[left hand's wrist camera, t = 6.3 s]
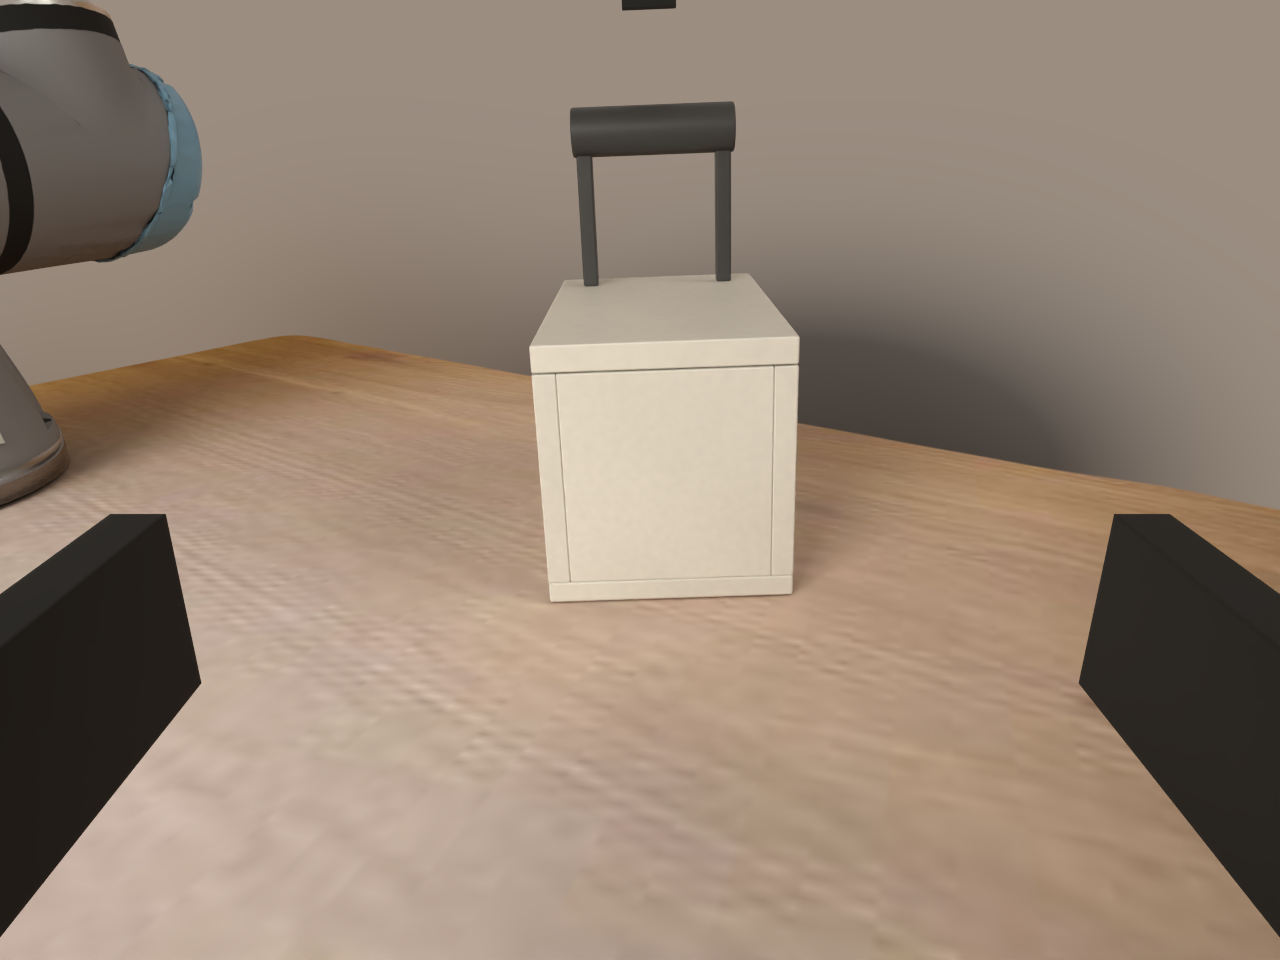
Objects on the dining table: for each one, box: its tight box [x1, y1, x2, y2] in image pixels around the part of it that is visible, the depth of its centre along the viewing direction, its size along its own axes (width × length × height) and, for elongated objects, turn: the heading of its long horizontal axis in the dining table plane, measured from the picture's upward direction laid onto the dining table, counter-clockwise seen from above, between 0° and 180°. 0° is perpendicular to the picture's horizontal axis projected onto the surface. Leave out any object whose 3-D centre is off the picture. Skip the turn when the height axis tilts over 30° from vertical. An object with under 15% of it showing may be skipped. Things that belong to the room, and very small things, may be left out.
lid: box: [529, 102, 799, 373], centre depth 37 cm, size 16×9×9 cm, turn 0°
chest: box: [532, 364, 799, 602], centre depth 40 cm, size 15×9×9 cm, turn 0°
